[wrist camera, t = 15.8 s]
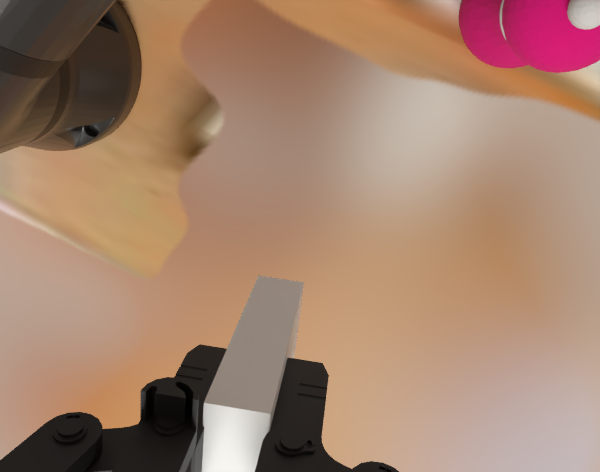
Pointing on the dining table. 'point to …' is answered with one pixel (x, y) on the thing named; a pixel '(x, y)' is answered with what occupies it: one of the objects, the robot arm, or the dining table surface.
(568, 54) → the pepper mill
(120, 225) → the dining table surface
